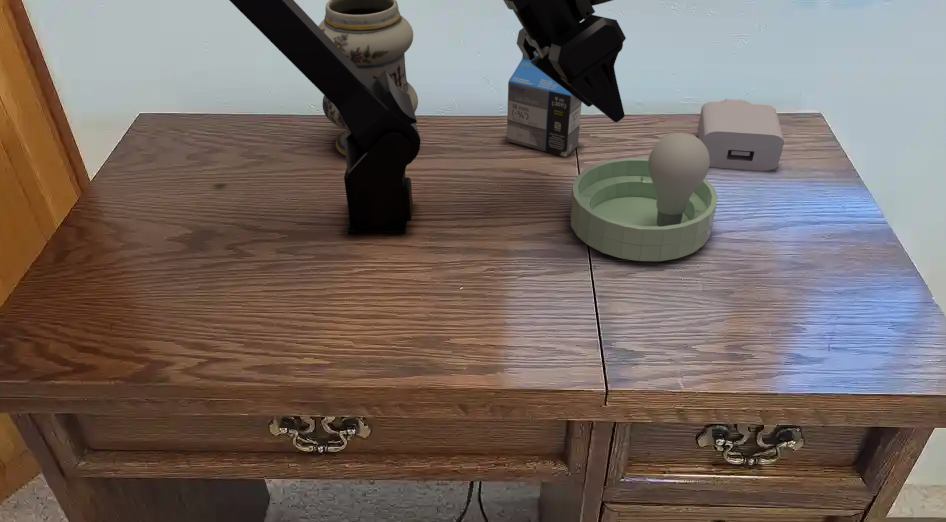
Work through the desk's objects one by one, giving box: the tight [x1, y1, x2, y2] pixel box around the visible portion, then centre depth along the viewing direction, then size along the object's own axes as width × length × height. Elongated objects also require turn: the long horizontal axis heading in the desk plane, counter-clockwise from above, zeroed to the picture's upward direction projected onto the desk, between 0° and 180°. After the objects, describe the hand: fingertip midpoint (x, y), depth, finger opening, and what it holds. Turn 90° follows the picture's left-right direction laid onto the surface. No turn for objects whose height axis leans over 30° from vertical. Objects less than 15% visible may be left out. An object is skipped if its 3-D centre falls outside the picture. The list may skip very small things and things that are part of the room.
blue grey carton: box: [506, 52, 583, 158], centre depth 100 cm, size 9×4×12 cm, turn 58°
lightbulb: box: [648, 132, 710, 226], centre depth 83 cm, size 6×6×11 cm
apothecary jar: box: [317, 0, 419, 157], centre depth 99 cm, size 12×12×18 cm
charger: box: [697, 98, 785, 172], centre depth 102 cm, size 5×9×15 cm
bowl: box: [569, 157, 718, 262], centre depth 87 cm, size 15×15×4 cm
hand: (605, 111), depth 82 cm, fingers open, 9 cm apart
